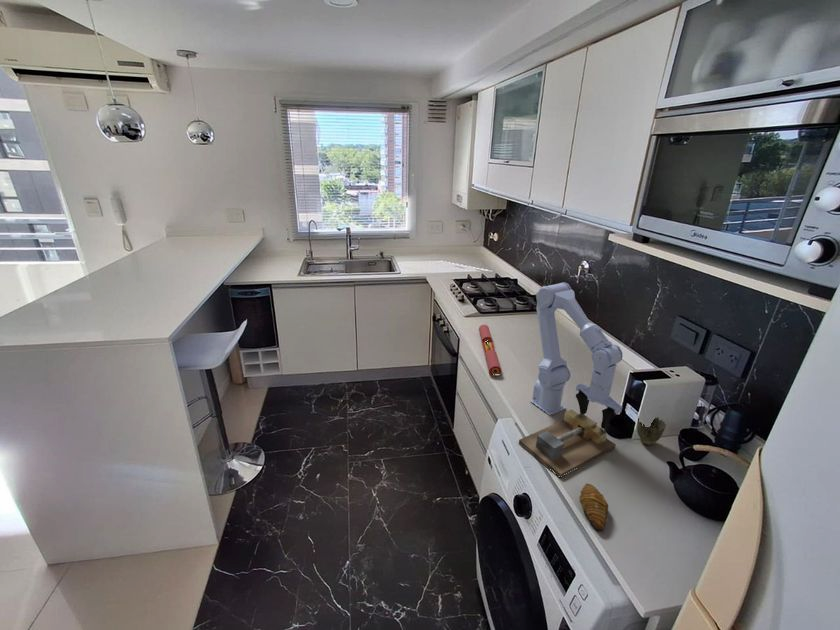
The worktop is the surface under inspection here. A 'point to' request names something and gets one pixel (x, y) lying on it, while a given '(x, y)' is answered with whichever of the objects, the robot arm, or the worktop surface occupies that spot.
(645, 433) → the olive green lumpy piece
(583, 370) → the worktop surface
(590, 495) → the croissant
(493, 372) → the pink labeled cylinder
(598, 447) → the rod base
